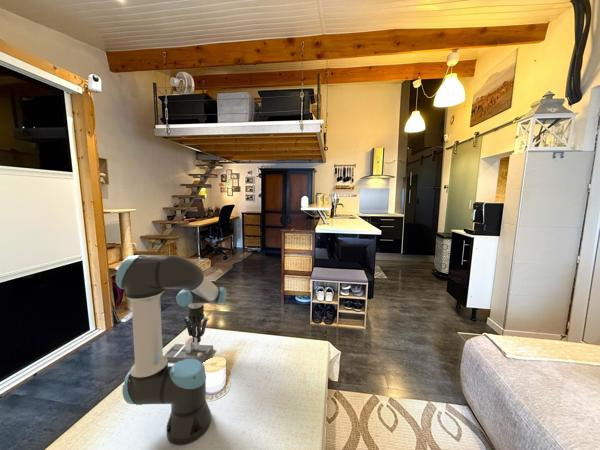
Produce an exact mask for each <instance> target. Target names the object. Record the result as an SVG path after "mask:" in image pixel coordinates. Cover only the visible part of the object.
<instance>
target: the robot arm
mask: <svg viewBox="0 0 600 450" xmlns="http://www.w3.org/2000/svg"><path fill="white" fill-rule="evenodd" d="M115 283H116V286H117V287H118V288H119V289H121V290H125V298H127V299H128V300H130V301H131V313H132V317H131V318H132V332H133V334H132V335H133V347H134V348H133V349H134V350H133V351H134V364H133V365H132V366H131V367H130V369H129V371H128V372H127V374H126V376H125V377H124V380H123V382H124V383H123V385H122V398H123V399H124V401H125V402H126V403H127V404H130V405H136V406H143V405H170V407H171V409H170V411H171V412H170V413H169V417H168V421H167V424H166V428H165V430H166V434H165V435H166V439H167V440H168V441H169V443H171V444H172V445H173V444H174V445H178V446H181V445H183V446H184V445H188V444H191V443H193V442H195V441H197V440H198V439H200V438H201V437H202V436H204V434H205V433H206V432H207V431H208V429H209V428H210V425H211V423H212V413H211V409H210V407H209V404H208V402H207V400H206V399H207V397H206V396H207V395H206V394H207V393H206V391H207V390H206V389H207V387H206V385H207V384H206V379H207V374H206V367H205V365H204V363H202V362H200V361H199V360H196V359H184V360H183V361H179V362H174V364H173V365H172V366H171V365H170V366H169V362H168V360H167V358H166V357H165V356H164V354H163V352H164V351H163V349H164V348H163V332H162V331H163V329H162V308H161V307H162V304H161V296H162V295H163V293H165V291H166V290H169V289H170V290H171V289H172V290H173V289H179V290H180V289H181V290H180V291H179V292H178V293H177V295H176V297H175V298H176V299H175V300H176V302H177V304H178V305H179V306H180V307H188V315H187V316H186V317H185V318H184V319H183V321H184V322H185V325H186V329H187V332H188V333H187V334H188V337H191V338H193V342H194V349H198V348H199V345H200V343H201V341H202V337H203V336H204V335H205V332H206V327H207V323H208V321H209V320H210V319H209V317H206V316H205V314H204V312H205V311H204V310H205V309H204V304H224V303H225V302H226V299H227V295H228V294H227V289H226V287H223V286H222V287H221V286H219V287H218V286H217V285H216V284H214V283H213V282H212V281H211V280H210V279H209V278H208V277H207V276H206V275H205V273H204V270H203V269H202V268H201V267H200V266H199V265H197V264H196V263H195V262H193V261H191V260H189V259H187V258H185V257H182V256H178V255H174V254H171V255H170V254H168V255H166V254H165V255H164V254H163V255H162V254H159V255H158V254H137V255H129V256H127V257H125V258H124V259H123V260H122V262H121V263H120V264H119V266H118V267H117V271H116V273H115ZM202 322H203V323H202Z"/></svg>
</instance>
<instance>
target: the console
mask: <svg viewBox="0 0 600 450" xmlns="http://www.w3.org/2000/svg"><path fill="white" fill-rule="evenodd" d="M213 351H214V344H213V345H212V344H211V345H209V344H199V348H198V349H194V350H193V352H192V353H191V354H189V353H185V343H183V344H182V343H175V344H174V345H173V346H171V347H170V348H169V349H168V350H167V351H166V353H165V354H163V356H165V357H166V358H167V360H168V363H170V362H171V363H177V362H179V361H183V360H184V359H196V360H199V361H200V362H202V364H204V363H203V362H204V361H205V360H206V361H207V359H208V358H209V357H210V355H211V353H213ZM206 361H205V362H206Z"/></svg>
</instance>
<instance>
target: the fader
mask: <svg viewBox="0 0 600 450" xmlns="http://www.w3.org/2000/svg"><path fill="white" fill-rule="evenodd" d="M184 344H185V353H189V354H191V353H192V352H193V350H194V342H193V337H189V338H188V339H187V340H186V341H185V342H184Z"/></svg>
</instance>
